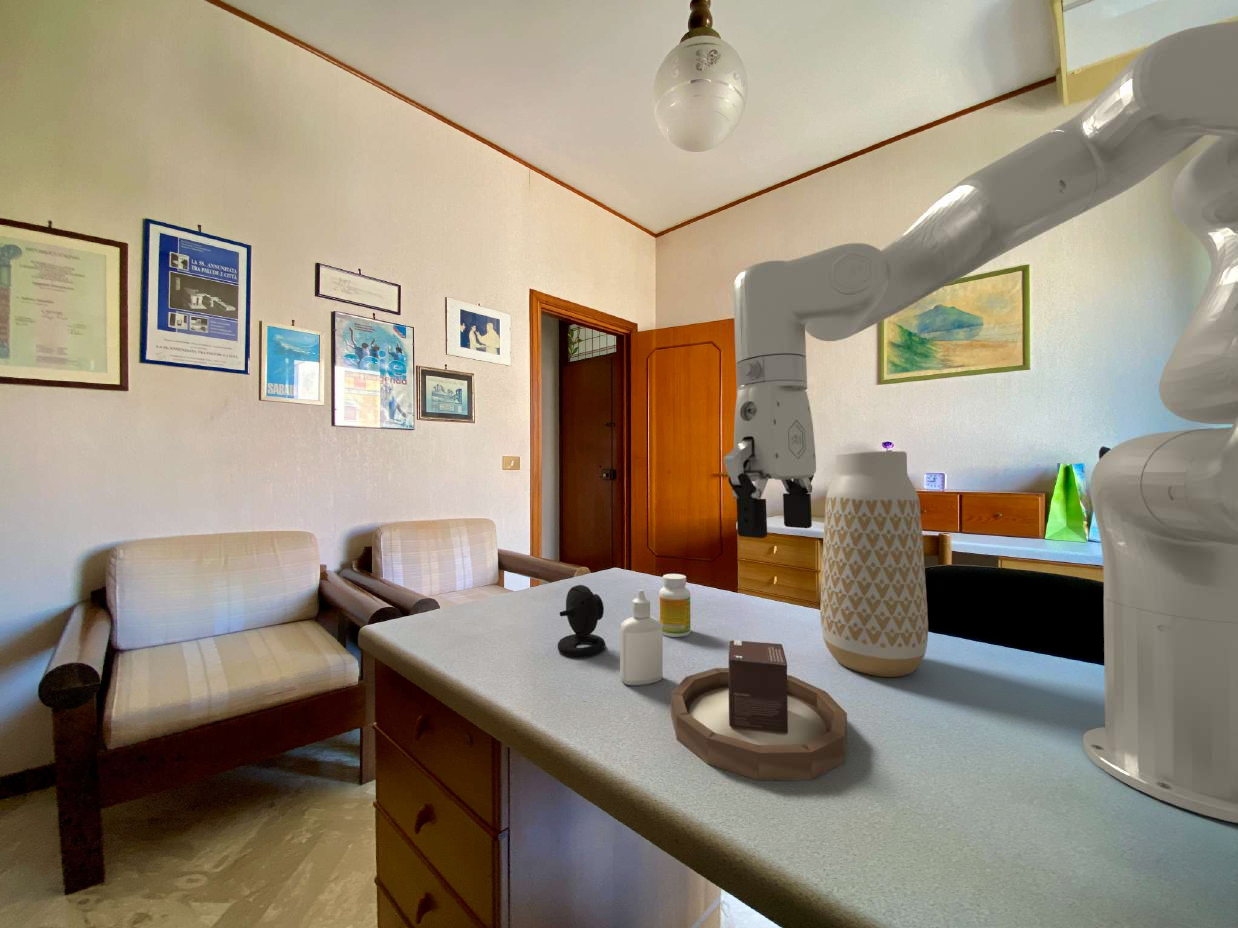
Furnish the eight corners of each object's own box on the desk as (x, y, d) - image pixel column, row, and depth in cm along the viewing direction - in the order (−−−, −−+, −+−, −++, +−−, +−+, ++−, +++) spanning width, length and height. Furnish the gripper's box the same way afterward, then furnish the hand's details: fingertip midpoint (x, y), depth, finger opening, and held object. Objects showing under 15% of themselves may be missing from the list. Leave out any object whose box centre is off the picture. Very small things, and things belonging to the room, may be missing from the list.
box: (788, 736, 48) (788, 664, 48) (728, 728, 49) (727, 658, 49) (783, 707, 54) (783, 643, 54) (729, 700, 55) (729, 638, 55)
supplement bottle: (692, 638, 78) (692, 579, 78) (660, 637, 78) (660, 579, 78) (688, 627, 84) (688, 572, 84) (658, 626, 84) (657, 572, 84)
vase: (908, 695, 58) (906, 449, 59) (803, 661, 69) (802, 452, 69) (941, 664, 67) (939, 451, 68) (844, 638, 78) (843, 454, 78)
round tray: (850, 708, 55) (850, 687, 55) (838, 805, 39) (838, 775, 39) (703, 676, 64) (703, 657, 64) (646, 744, 48) (645, 719, 48)
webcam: (615, 651, 72) (614, 587, 73) (572, 663, 68) (572, 594, 68) (589, 636, 79) (589, 577, 79) (549, 646, 75) (548, 583, 75)
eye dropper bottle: (660, 689, 60) (659, 595, 60) (617, 684, 61) (617, 593, 61) (664, 674, 64) (663, 587, 64) (624, 670, 66) (623, 585, 66)
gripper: (758, 362, 44) (765, 545, 44) (837, 381, 55) (843, 526, 55) (695, 376, 49) (701, 538, 49) (779, 391, 61) (784, 522, 61)
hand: (776, 531), depth 52 cm, fingers open, 9 cm apart
